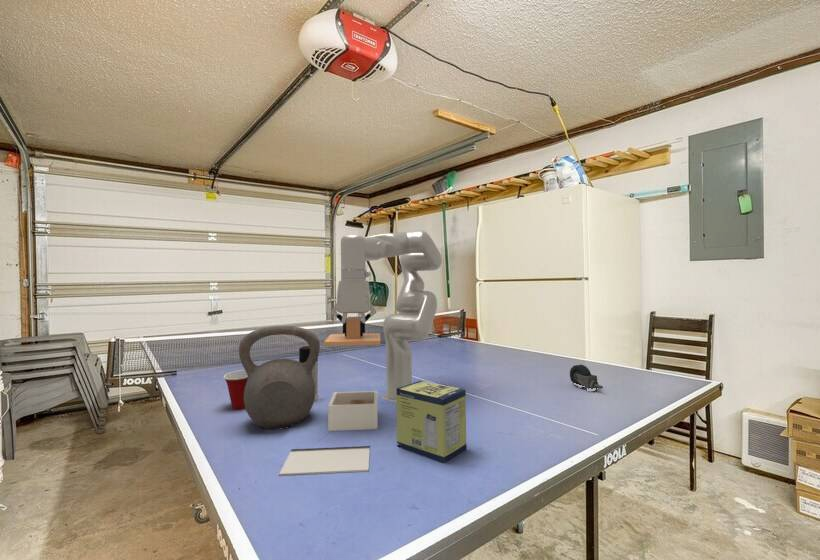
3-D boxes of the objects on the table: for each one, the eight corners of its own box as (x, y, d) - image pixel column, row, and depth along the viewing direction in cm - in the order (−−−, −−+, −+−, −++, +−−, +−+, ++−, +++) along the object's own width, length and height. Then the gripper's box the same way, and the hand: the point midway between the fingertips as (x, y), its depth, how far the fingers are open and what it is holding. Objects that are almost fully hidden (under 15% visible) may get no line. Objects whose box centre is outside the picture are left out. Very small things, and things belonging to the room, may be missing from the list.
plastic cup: (216, 409, 133) (216, 374, 133) (243, 400, 143) (242, 368, 143) (237, 414, 128) (237, 377, 128) (263, 404, 138) (263, 371, 138)
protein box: (420, 434, 110) (419, 379, 110) (467, 449, 100) (466, 389, 100) (395, 447, 102) (395, 387, 102) (444, 464, 92) (444, 398, 92)
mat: (370, 436, 108) (370, 435, 108) (368, 471, 89) (368, 469, 89) (297, 439, 107) (297, 438, 107) (279, 475, 87) (279, 473, 87)
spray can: (320, 399, 144) (320, 345, 144) (314, 405, 137) (314, 348, 137) (303, 399, 144) (303, 345, 144) (296, 404, 137) (295, 348, 138)
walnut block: (369, 415, 123) (369, 399, 123) (369, 422, 117) (369, 405, 117) (350, 416, 122) (350, 400, 122) (349, 423, 116) (349, 406, 116)
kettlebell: (233, 437, 109) (233, 330, 109) (244, 416, 126) (243, 324, 126) (320, 429, 115) (320, 327, 115) (319, 410, 132) (319, 322, 132)
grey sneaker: (567, 388, 160) (596, 394, 146) (565, 364, 161) (594, 368, 147) (578, 386, 162) (608, 392, 148) (576, 363, 163) (605, 366, 149)
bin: (377, 415, 126) (377, 390, 126) (377, 432, 112) (377, 404, 112) (334, 417, 124) (333, 392, 125) (328, 434, 111) (328, 406, 111)
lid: (380, 336, 127) (380, 315, 127) (380, 344, 111) (380, 319, 111) (330, 338, 126) (330, 315, 126) (323, 346, 110) (323, 320, 110)
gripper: (380, 276, 123) (381, 333, 123) (327, 276, 121) (327, 334, 121) (380, 275, 115) (381, 337, 115) (324, 276, 114) (324, 338, 114)
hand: (354, 335), depth 118 cm, fingers closed on lid, 4 cm apart
